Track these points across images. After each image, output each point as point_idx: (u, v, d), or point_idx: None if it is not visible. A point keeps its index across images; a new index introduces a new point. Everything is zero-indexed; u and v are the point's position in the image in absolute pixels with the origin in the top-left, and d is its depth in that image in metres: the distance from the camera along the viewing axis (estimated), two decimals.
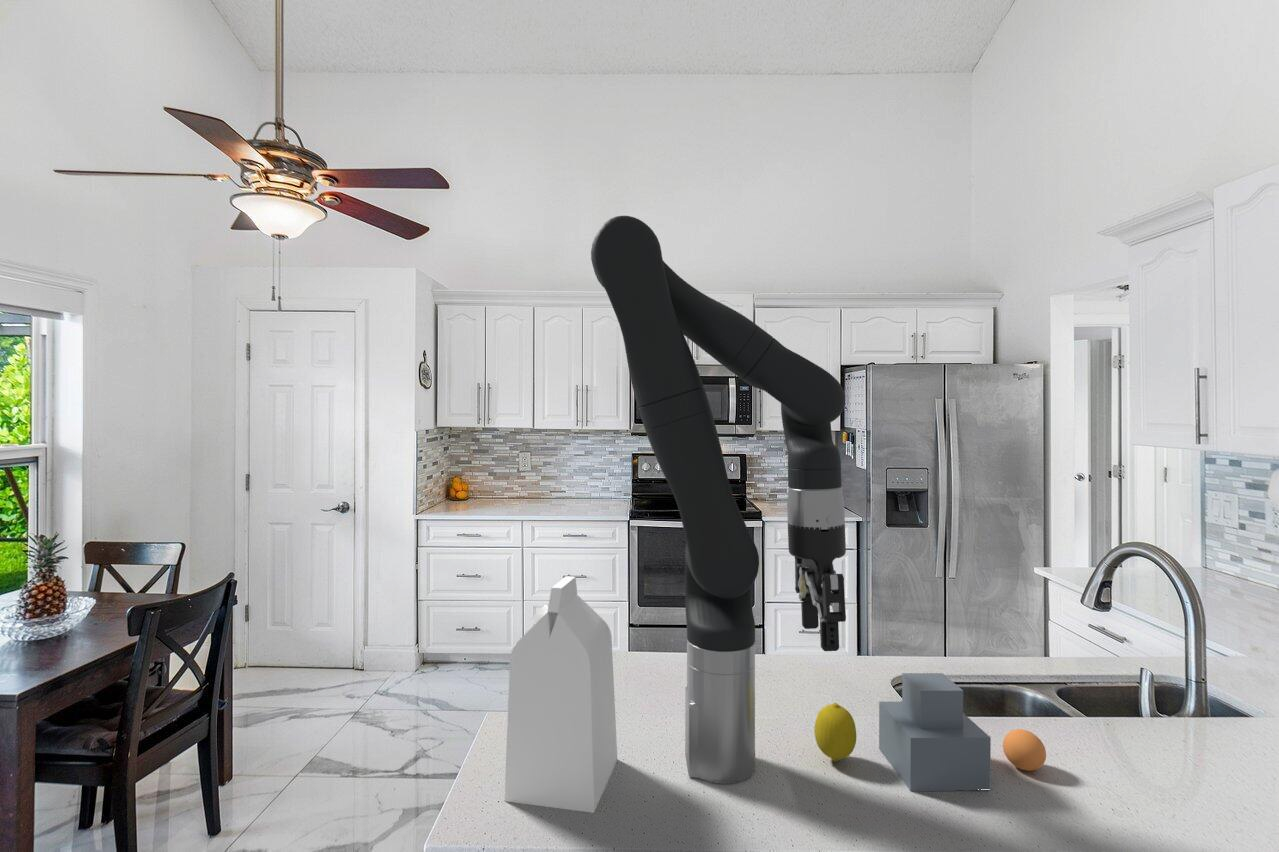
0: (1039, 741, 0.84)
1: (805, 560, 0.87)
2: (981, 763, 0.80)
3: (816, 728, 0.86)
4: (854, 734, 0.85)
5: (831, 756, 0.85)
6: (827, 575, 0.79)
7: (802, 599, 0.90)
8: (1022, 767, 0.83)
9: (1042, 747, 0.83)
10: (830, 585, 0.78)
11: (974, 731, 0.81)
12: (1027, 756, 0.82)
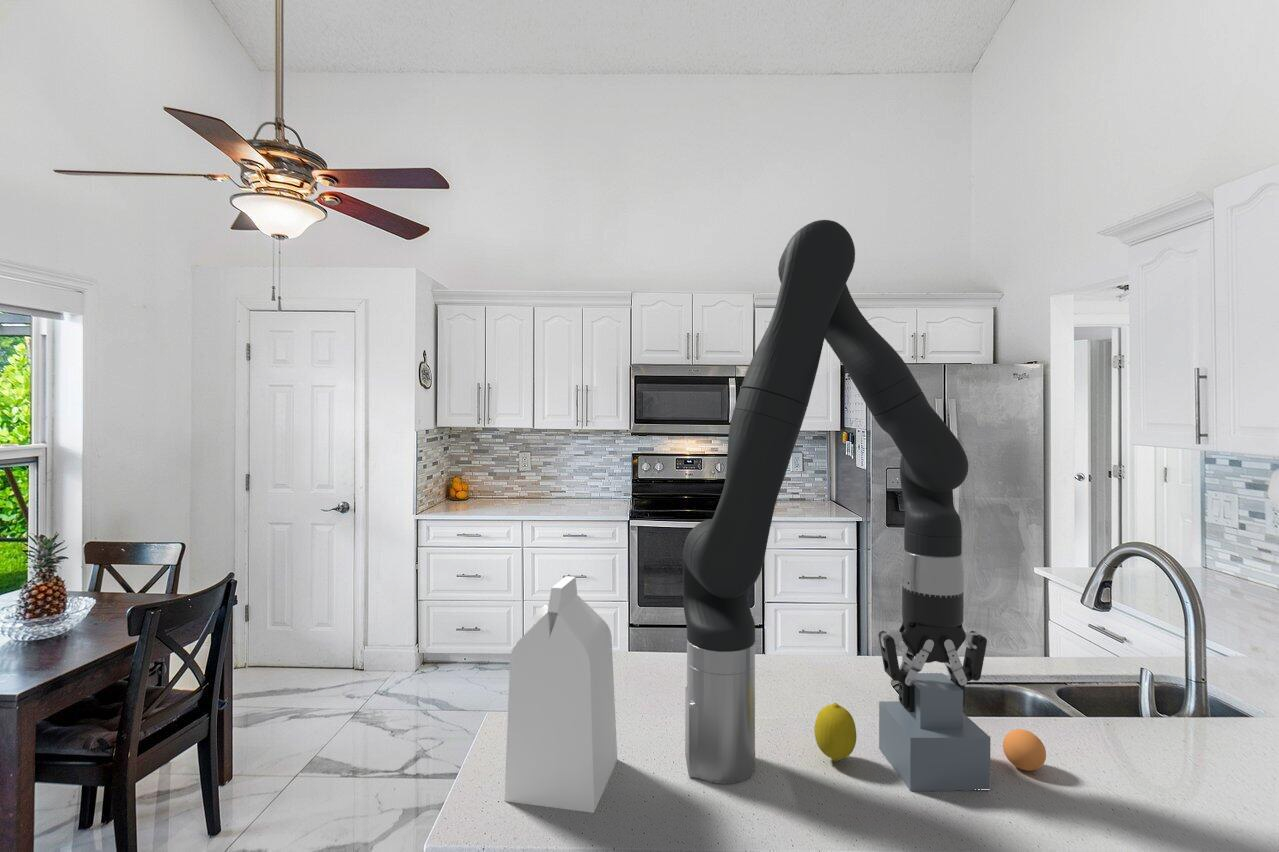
0: (1039, 741, 0.84)
1: (922, 631, 0.83)
2: (981, 763, 0.80)
3: (816, 728, 0.86)
4: (854, 734, 0.85)
5: (831, 756, 0.85)
6: None
7: None
8: (1022, 767, 0.83)
9: (1042, 747, 0.83)
10: None
11: (974, 731, 0.81)
12: (1027, 756, 0.82)
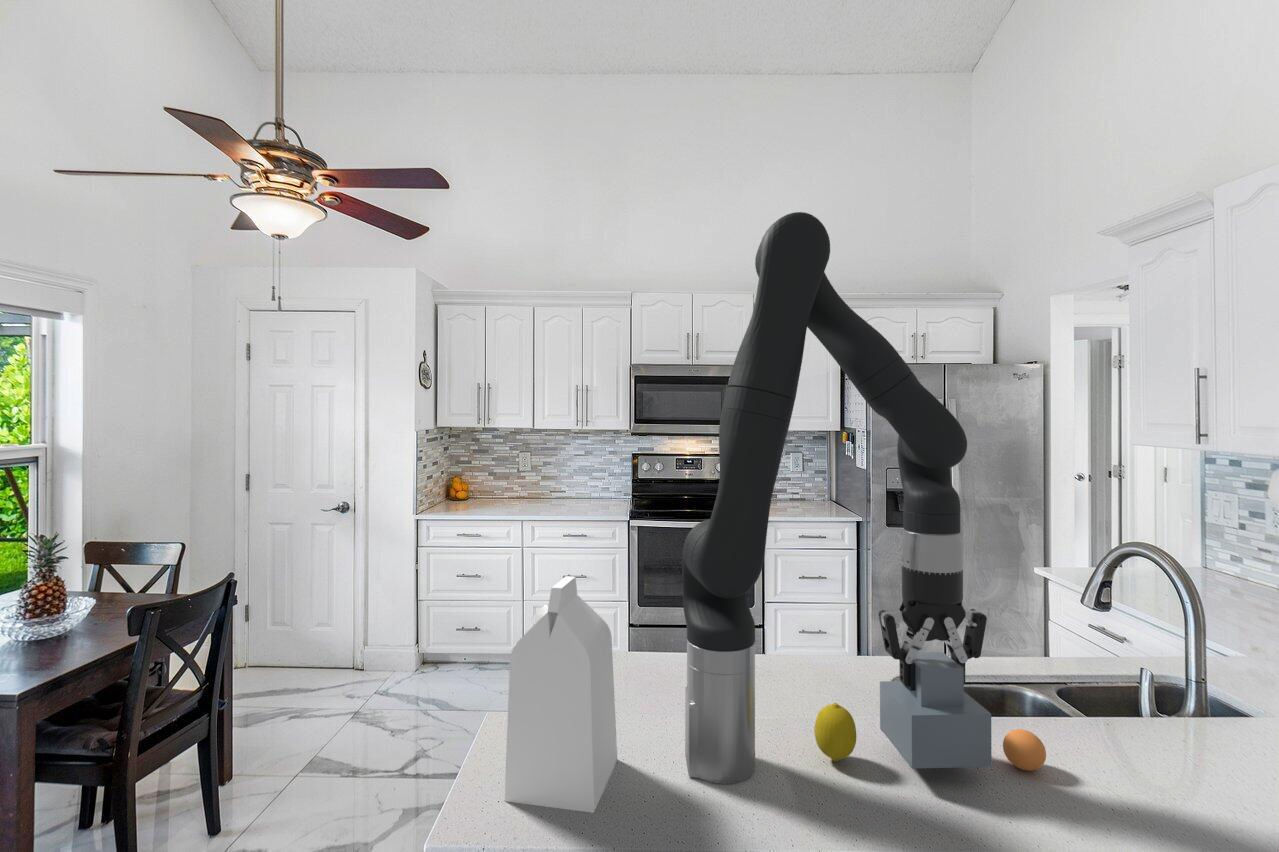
0: (1039, 741, 0.84)
1: (922, 609, 0.83)
2: (982, 739, 0.80)
3: (816, 728, 0.86)
4: (854, 734, 0.85)
5: (831, 756, 0.85)
6: (983, 614, 0.84)
7: (913, 660, 0.84)
8: (1022, 767, 0.83)
9: (1042, 747, 0.83)
10: None
11: (975, 708, 0.81)
12: (1027, 756, 0.82)
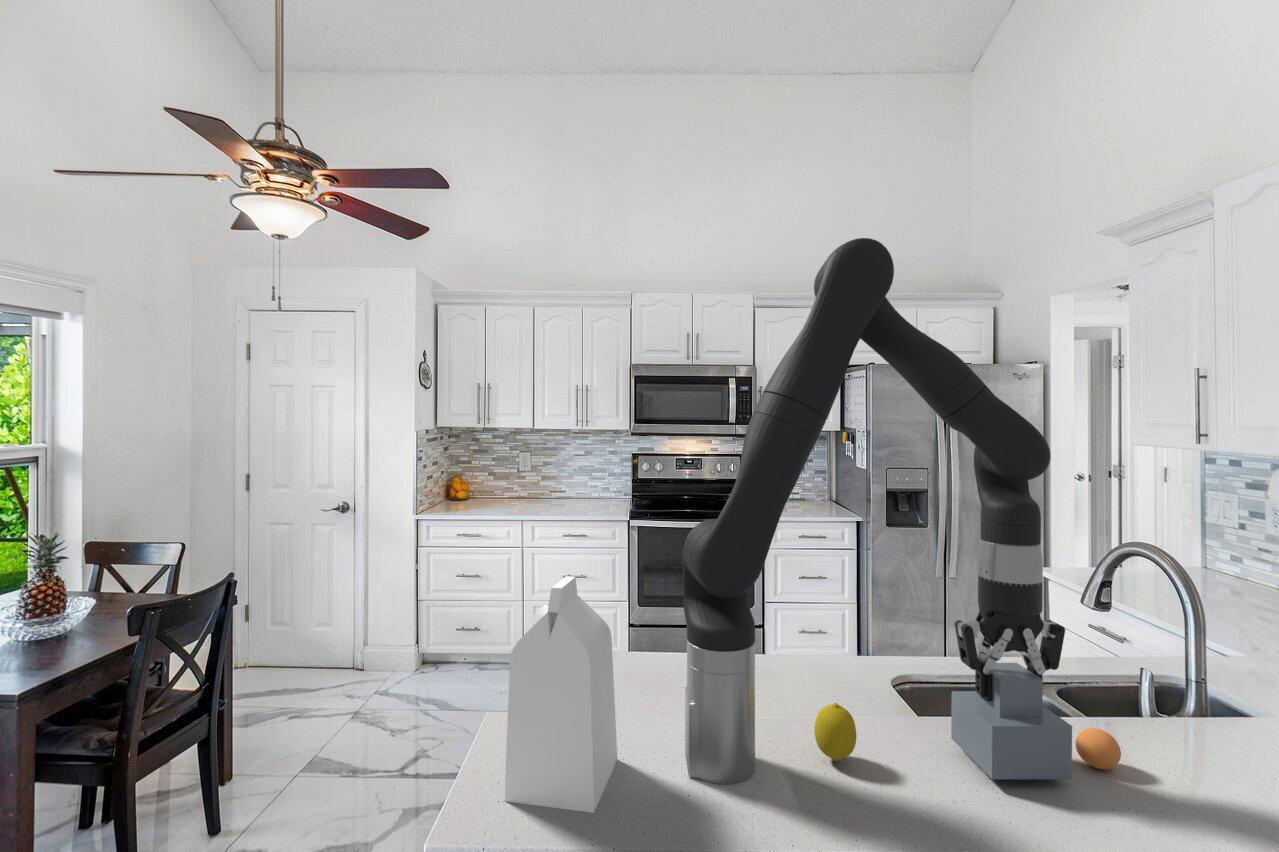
0: (1089, 754, 0.84)
1: (1001, 620, 0.83)
2: (1062, 751, 0.80)
3: (816, 728, 0.86)
4: (854, 734, 0.85)
5: (831, 756, 0.85)
6: None
7: (991, 671, 0.84)
8: (1120, 753, 0.84)
9: (1094, 753, 0.83)
10: None
11: (1054, 720, 0.81)
12: (1113, 764, 0.83)
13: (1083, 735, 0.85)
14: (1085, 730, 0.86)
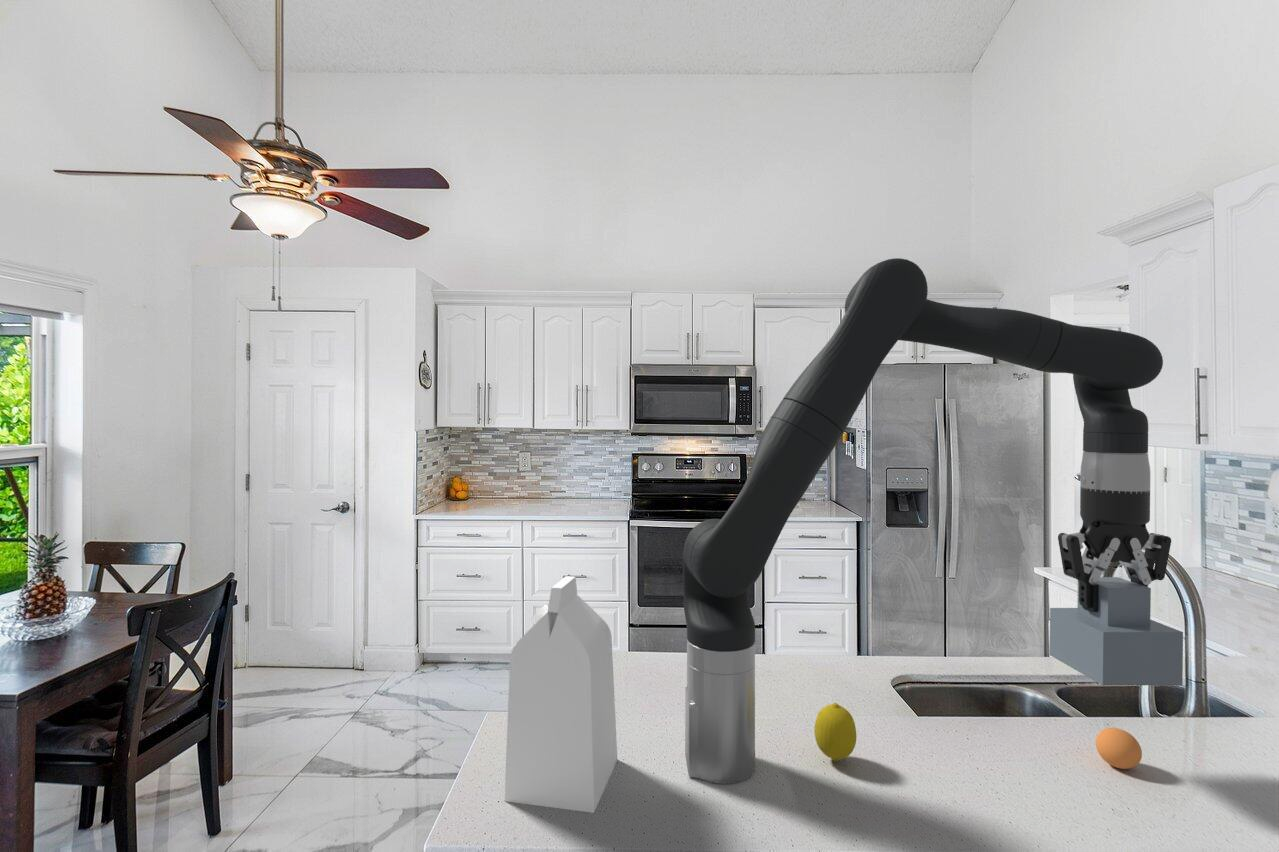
0: (1118, 739, 0.84)
1: (1107, 530, 0.83)
2: (1173, 658, 0.80)
3: (816, 728, 0.86)
4: (854, 734, 0.85)
5: (831, 756, 0.85)
6: None
7: None
8: (1133, 766, 0.84)
9: (1125, 742, 0.83)
10: None
11: (1163, 628, 0.81)
12: (1126, 763, 0.83)
13: (1122, 730, 0.85)
14: None
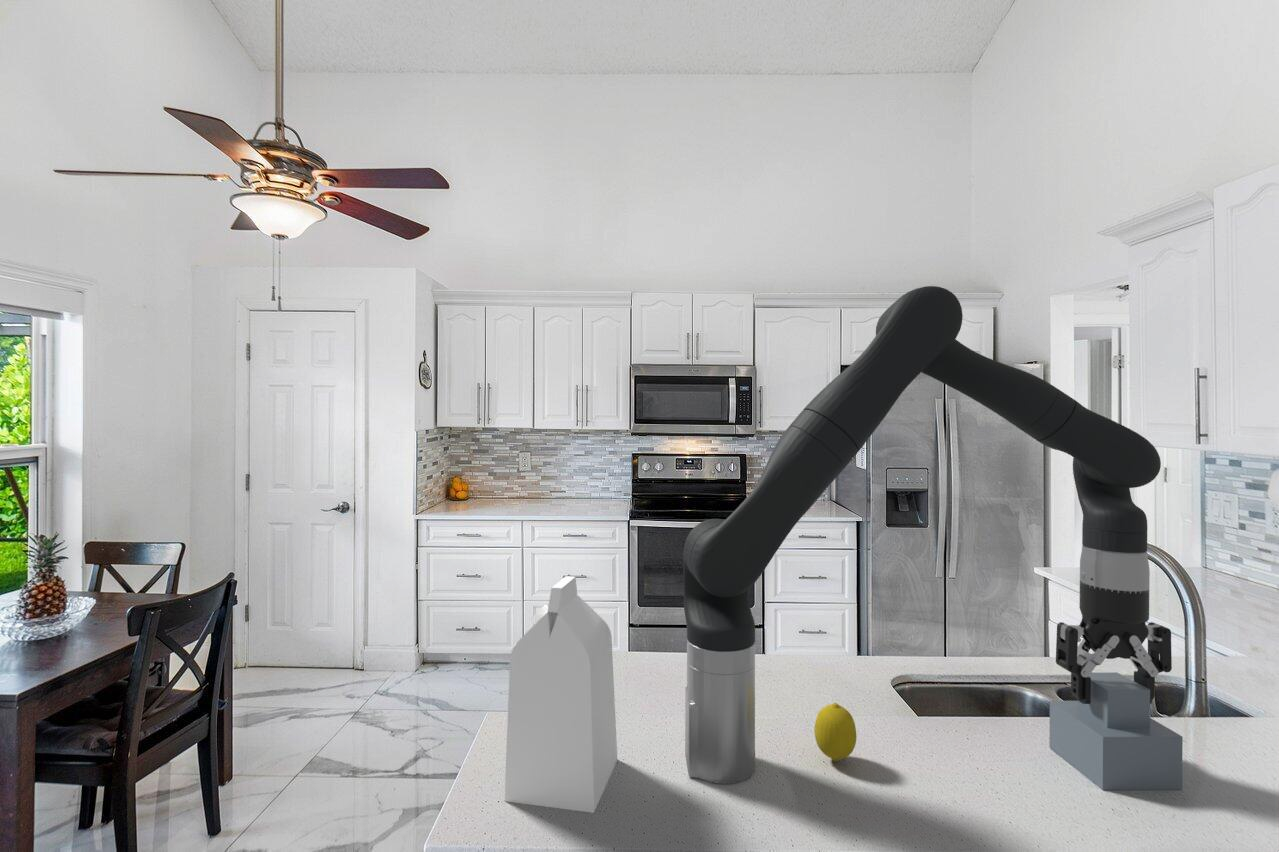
0: None
1: (1106, 627, 0.84)
2: (1173, 762, 0.80)
3: (816, 728, 0.86)
4: (854, 734, 0.85)
5: (831, 756, 0.85)
6: (1165, 627, 0.84)
7: (1089, 674, 0.84)
8: None
9: None
10: None
11: (1163, 730, 0.81)
12: None
13: None
14: None
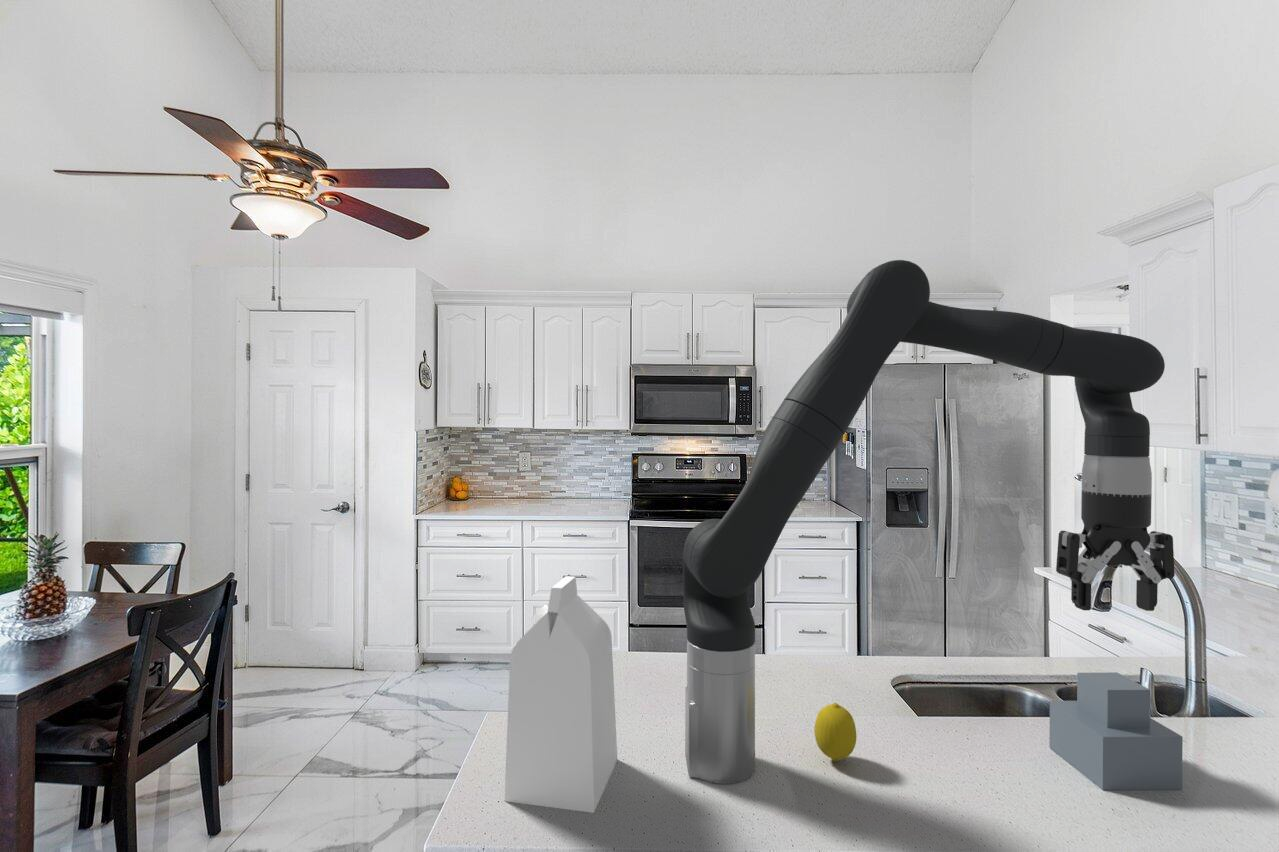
0: None
1: (1108, 534, 0.83)
2: (1173, 762, 0.80)
3: (816, 728, 0.86)
4: (854, 734, 0.85)
5: (831, 756, 0.85)
6: (1167, 534, 0.84)
7: (1089, 580, 0.83)
8: None
9: None
10: None
11: (1163, 730, 0.81)
12: None
13: None
14: None
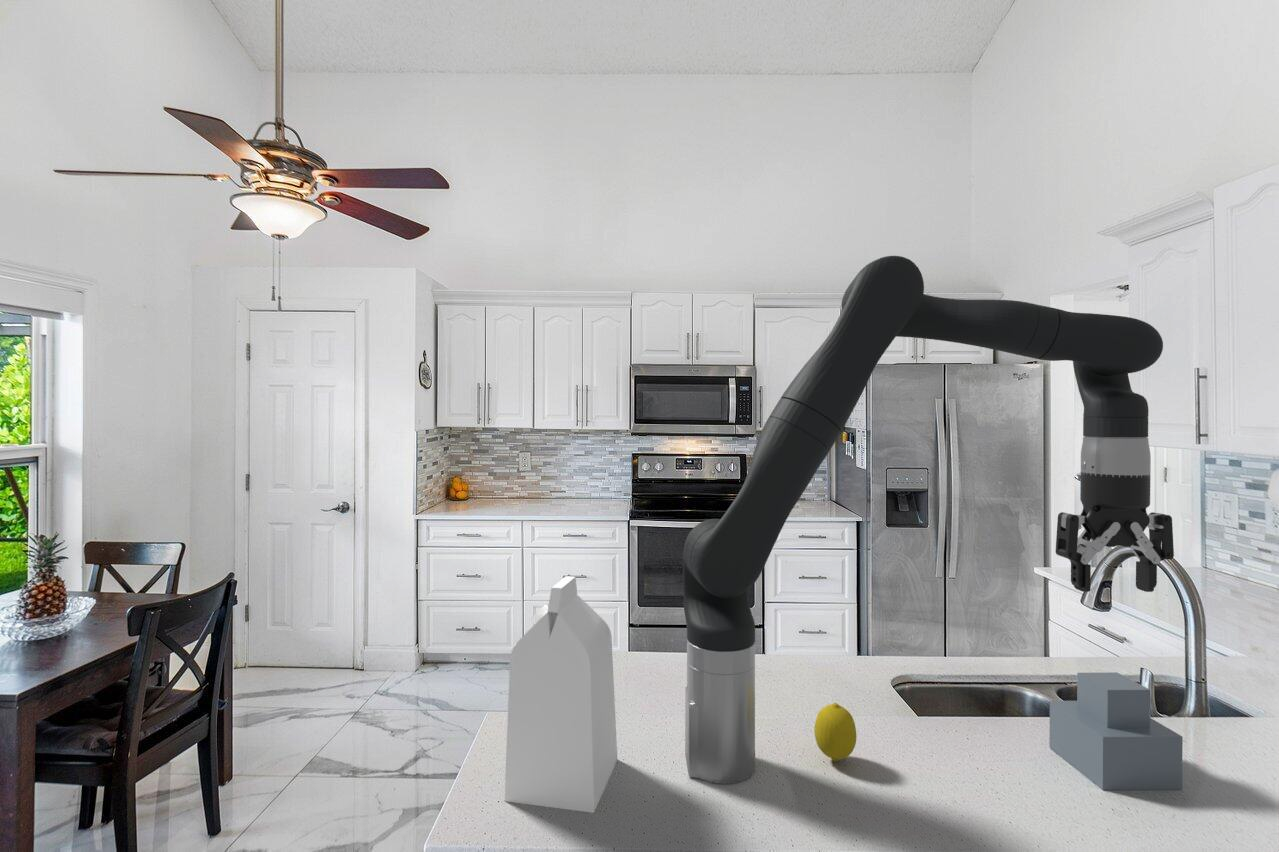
0: None
1: (1107, 515, 0.83)
2: (1173, 762, 0.80)
3: (816, 728, 0.86)
4: (854, 734, 0.85)
5: (831, 756, 0.85)
6: (1166, 515, 0.84)
7: (1088, 561, 0.83)
8: None
9: None
10: None
11: (1163, 730, 0.81)
12: None
13: None
14: None
